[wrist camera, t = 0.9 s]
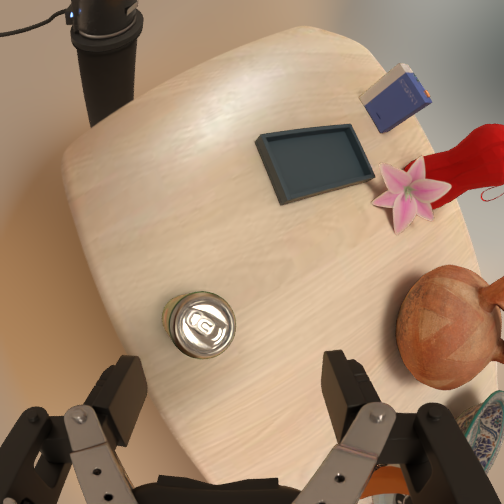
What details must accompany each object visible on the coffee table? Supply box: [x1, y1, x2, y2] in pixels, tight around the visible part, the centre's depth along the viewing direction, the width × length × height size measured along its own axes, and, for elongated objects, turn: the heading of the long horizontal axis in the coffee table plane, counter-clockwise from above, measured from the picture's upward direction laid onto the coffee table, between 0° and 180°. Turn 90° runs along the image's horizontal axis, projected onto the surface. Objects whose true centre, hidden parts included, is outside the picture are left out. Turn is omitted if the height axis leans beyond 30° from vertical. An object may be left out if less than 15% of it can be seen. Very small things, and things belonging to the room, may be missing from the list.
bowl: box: [455, 390, 504, 475], centre depth 39 cm, size 25×25×10 cm
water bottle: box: [404, 124, 504, 210], centre depth 37 cm, size 9×11×25 cm
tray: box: [255, 124, 375, 205], centre depth 40 cm, size 16×9×2 cm, turn 112°
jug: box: [396, 265, 504, 390], centre depth 34 cm, size 18×18×20 cm
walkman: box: [359, 63, 432, 133], centre depth 42 cm, size 8×3×12 cm, turn 27°
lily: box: [372, 155, 452, 235], centre depth 42 cm, size 12×12×10 cm
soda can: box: [162, 291, 236, 359], centre depth 26 cm, size 5×5×12 cm
